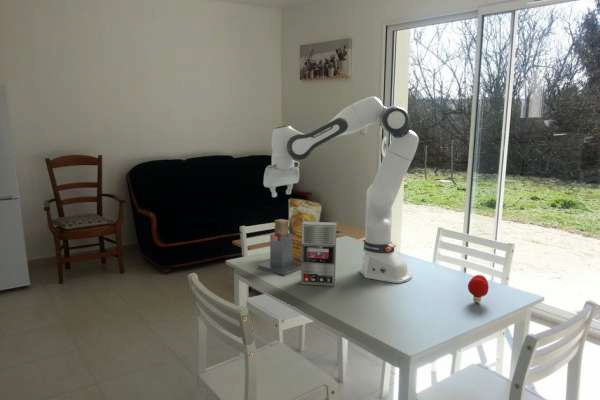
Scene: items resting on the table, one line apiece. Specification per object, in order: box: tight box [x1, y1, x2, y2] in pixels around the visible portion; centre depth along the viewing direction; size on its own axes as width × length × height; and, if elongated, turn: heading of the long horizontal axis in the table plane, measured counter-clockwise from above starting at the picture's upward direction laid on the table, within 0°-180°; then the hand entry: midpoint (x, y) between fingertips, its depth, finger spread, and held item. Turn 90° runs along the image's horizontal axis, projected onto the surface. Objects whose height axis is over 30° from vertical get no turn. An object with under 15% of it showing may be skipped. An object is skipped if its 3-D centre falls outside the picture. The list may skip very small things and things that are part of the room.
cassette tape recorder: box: [300, 221, 338, 287], centre depth 187 cm, size 14×6×25 cm, turn 83°
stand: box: [257, 232, 301, 277], centre depth 206 cm, size 16×14×16 cm
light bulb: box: [467, 274, 489, 304], centre depth 170 cm, size 9×7×10 cm
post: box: [274, 218, 289, 236], centre depth 205 cm, size 4×4×20 cm
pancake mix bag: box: [287, 198, 323, 260], centre depth 220 cm, size 7×19×28 cm, turn 48°
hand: (281, 195), depth 201 cm, fingers open, 8 cm apart
